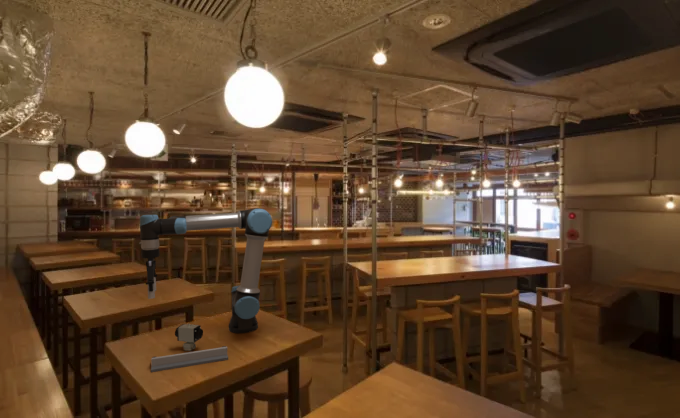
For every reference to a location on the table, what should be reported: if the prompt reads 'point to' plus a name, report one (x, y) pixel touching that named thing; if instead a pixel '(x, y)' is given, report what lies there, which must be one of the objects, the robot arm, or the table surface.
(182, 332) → the pneumatic valve
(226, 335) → the table surface
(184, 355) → the curved pull handle
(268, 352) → the table surface
